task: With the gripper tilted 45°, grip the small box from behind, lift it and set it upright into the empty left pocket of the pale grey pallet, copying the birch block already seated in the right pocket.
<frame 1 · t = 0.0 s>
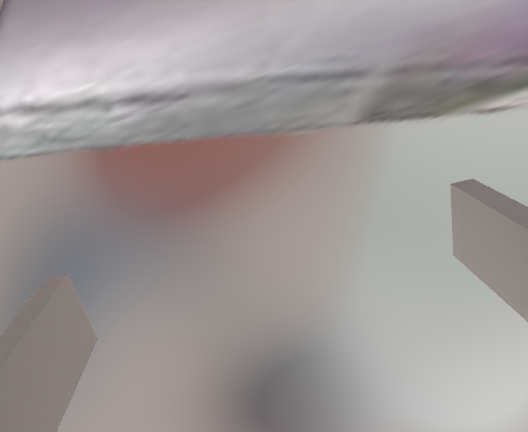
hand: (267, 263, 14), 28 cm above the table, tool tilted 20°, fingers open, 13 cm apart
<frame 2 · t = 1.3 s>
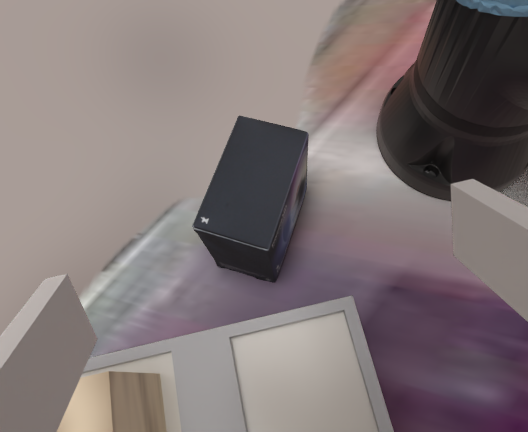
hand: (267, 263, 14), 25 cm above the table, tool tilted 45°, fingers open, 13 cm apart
pallet: (220, 431, 35), on the table
small box: (264, 226, 41), on the table
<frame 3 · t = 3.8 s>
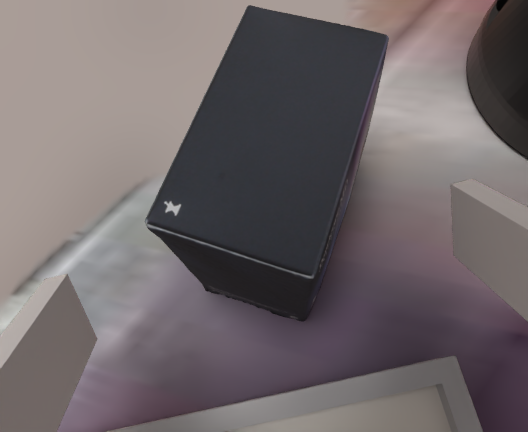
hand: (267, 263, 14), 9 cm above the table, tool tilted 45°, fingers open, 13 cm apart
small box: (285, 224, 25), on the table
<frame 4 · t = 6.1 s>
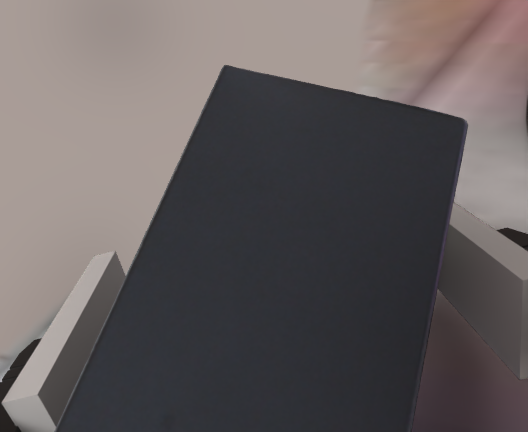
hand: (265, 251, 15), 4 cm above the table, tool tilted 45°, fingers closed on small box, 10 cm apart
small box: (288, 346, 18), on the table, touching gripper
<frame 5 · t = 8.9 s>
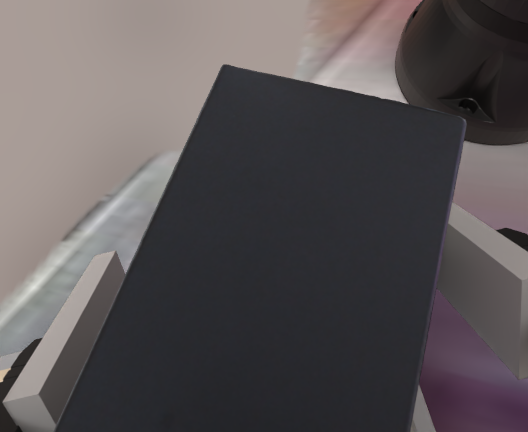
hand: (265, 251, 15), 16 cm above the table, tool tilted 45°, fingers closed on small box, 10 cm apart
small box: (287, 345, 18), point 11 cm above the table, touching gripper
when the fingers open (7 cm above the table, at t = 11.7 s): small box stays where it is, resting on pallet.
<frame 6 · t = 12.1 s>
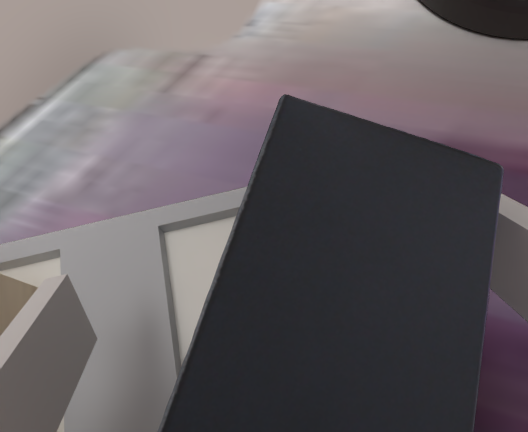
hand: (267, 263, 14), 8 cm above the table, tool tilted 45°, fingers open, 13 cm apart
pallet: (140, 385, 20), on the table
small box: (285, 348, 19), point 2 cm above the table, touching pallet
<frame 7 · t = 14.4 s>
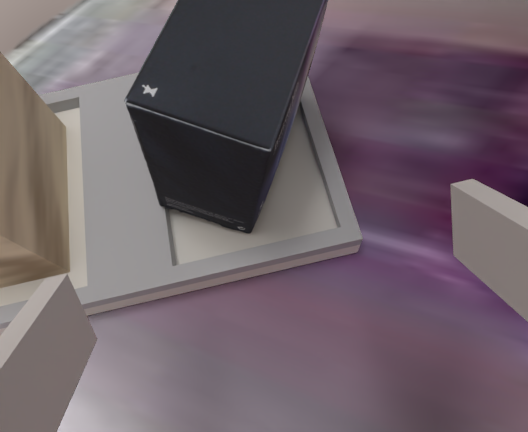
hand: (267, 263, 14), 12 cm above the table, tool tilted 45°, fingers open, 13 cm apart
pallet: (135, 190, 29), on the table
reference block: (16, 205, 27), point 1 cm above the table, touching pallet
small box: (233, 152, 27), point 2 cm above the table, touching pallet
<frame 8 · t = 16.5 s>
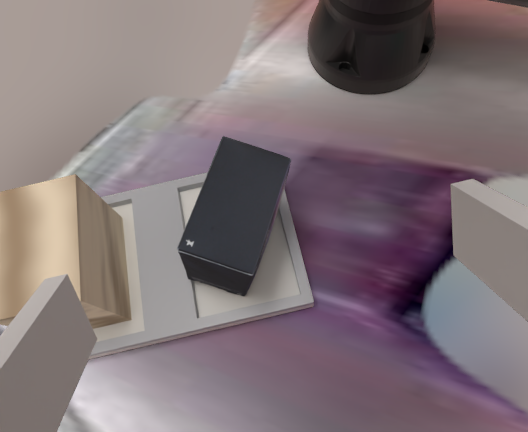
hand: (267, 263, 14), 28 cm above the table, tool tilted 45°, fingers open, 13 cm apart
pallet: (169, 261, 44), on the table
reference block: (93, 274, 42), point 1 cm above the table, touching pallet
small box: (234, 240, 42), point 2 cm above the table, touching pallet
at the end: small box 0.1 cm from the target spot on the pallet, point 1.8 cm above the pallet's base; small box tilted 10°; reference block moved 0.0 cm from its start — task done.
